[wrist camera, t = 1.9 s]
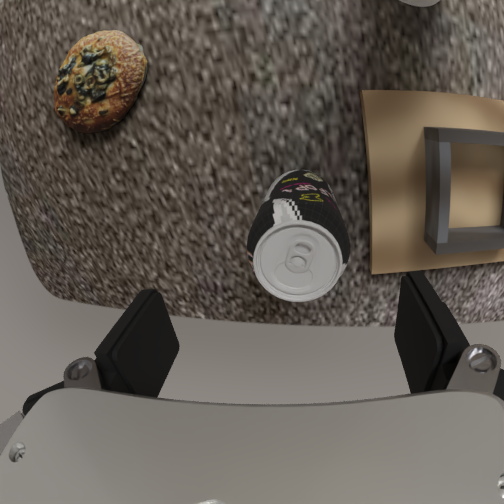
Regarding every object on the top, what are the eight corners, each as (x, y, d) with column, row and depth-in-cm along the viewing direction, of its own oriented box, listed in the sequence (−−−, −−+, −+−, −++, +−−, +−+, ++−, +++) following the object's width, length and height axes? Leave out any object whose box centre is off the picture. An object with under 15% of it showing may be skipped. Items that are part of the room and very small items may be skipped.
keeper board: (525, 252, 23) (544, 270, 19) (369, 268, 27) (378, 291, 24) (534, 108, 17) (559, 111, 13) (359, 91, 21) (370, 86, 17)
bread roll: (82, 153, 27) (49, 155, 22) (60, 72, 25) (30, 66, 20) (168, 98, 24) (140, 88, 19) (137, 15, 22) (111, -3, 17)
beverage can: (341, 179, 24) (371, 229, 14) (322, 239, 27) (331, 322, 16) (276, 160, 25) (254, 195, 14) (260, 222, 27) (231, 296, 16)
